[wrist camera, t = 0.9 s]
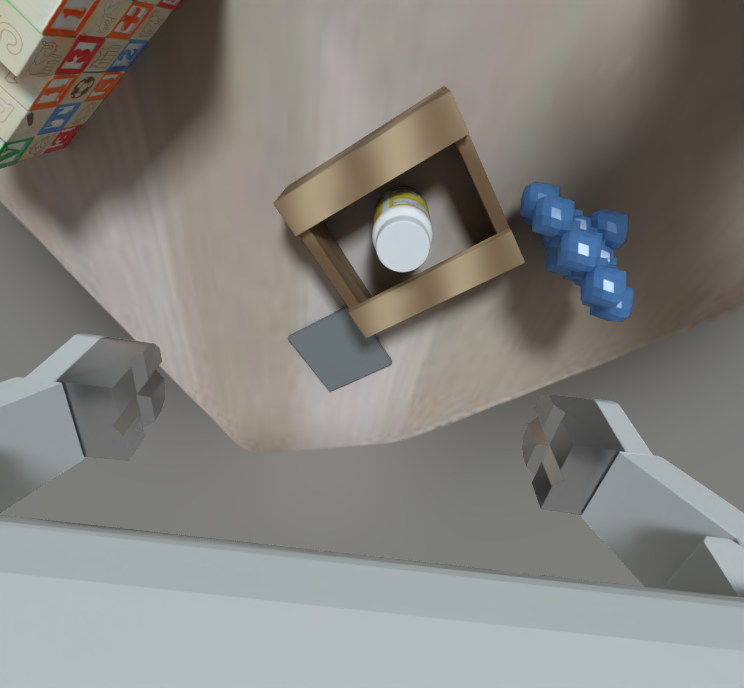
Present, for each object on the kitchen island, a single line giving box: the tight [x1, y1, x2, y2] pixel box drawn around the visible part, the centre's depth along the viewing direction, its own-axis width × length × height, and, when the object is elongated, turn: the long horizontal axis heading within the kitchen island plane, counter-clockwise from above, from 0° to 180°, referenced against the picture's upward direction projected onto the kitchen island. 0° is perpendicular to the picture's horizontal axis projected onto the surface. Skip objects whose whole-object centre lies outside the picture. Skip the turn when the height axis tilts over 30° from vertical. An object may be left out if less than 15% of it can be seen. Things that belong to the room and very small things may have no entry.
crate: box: [273, 87, 525, 338], centre depth 38 cm, size 15×14×5 cm
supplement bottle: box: [372, 187, 433, 272], centre depth 36 cm, size 5×5×8 cm
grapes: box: [521, 182, 634, 322], centre depth 34 cm, size 12×7×12 cm, turn 41°
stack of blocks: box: [0, 0, 182, 169], centre depth 28 cm, size 21×6×12 cm, turn 129°
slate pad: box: [288, 306, 392, 391], centre depth 48 cm, size 8×8×1 cm
